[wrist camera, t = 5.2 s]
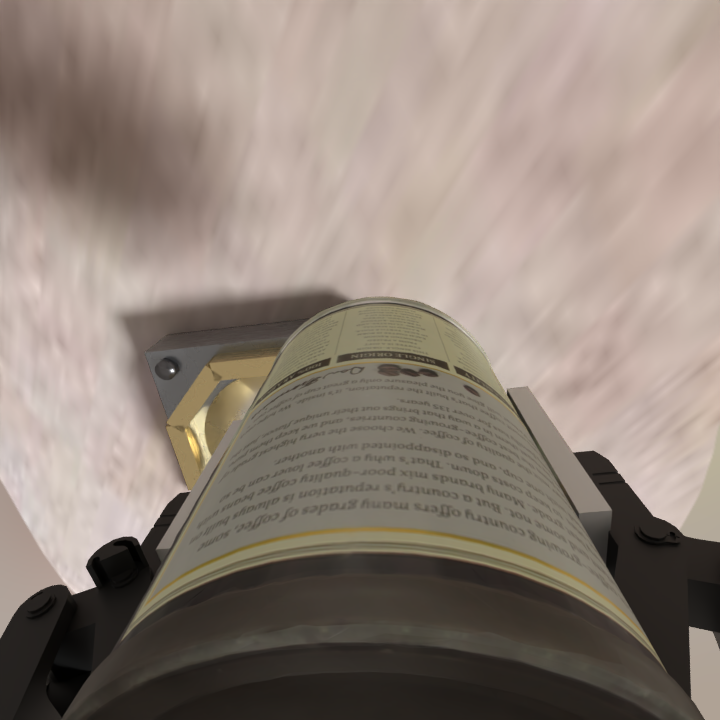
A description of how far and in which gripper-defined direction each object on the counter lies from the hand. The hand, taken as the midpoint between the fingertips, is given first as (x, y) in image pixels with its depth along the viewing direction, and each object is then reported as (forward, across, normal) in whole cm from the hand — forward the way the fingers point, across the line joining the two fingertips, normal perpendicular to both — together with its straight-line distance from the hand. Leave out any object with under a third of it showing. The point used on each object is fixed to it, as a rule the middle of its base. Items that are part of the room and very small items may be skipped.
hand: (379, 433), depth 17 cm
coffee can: (+3, 0, 0) cm, 3 cm away
